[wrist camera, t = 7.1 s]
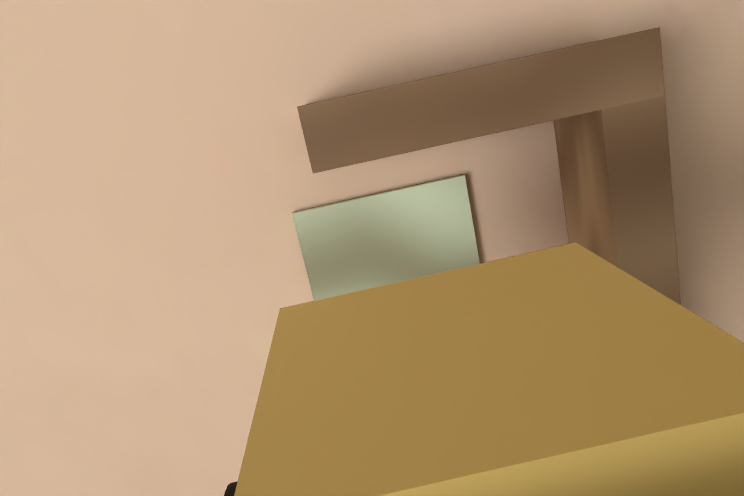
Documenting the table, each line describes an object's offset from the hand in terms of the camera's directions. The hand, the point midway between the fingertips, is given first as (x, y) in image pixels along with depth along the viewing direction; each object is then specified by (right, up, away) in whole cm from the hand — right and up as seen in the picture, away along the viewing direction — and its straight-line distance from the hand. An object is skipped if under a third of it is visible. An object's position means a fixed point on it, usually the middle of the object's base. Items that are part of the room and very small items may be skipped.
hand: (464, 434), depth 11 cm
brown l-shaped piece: (+2, +1, +12) cm, 12 cm away
